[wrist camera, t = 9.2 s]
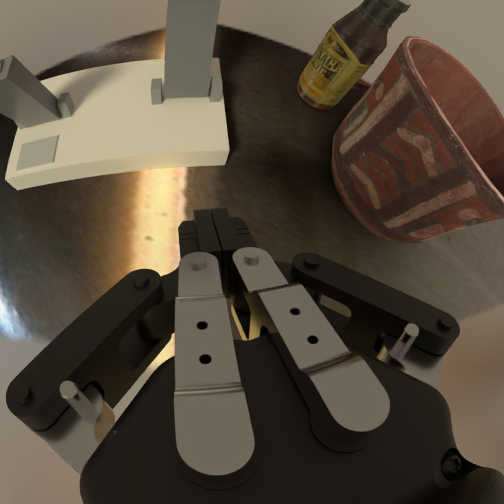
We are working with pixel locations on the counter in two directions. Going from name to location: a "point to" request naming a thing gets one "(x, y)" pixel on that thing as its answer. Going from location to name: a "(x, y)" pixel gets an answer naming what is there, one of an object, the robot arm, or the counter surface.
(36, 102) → the grey marked lever
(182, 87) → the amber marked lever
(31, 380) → the robot arm
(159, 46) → the counter surface
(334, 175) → the pottery
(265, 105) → the counter surface
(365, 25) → the sauce bottle
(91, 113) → the switch unit
